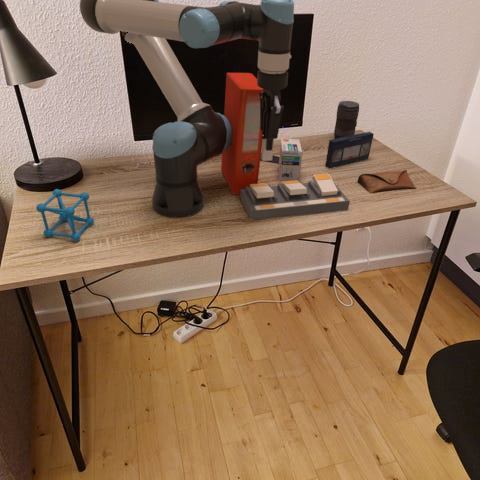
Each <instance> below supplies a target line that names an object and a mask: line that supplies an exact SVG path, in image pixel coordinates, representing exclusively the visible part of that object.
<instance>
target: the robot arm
mask: <svg viewBox="0 0 480 480" xmlns="http://www.w3.org/2000/svg"><path fill="white" fill-rule="evenodd" d="M79 11H80V15H81V17H82V19H83V21H84V24H86V25H87V26H88V27H89V28H90V29H91V30H94V31H95V32H99V33H103V34H108V35H114V34H119V32H120V31H121V32H122V34H123V35H122V34H121V35H122V37H123V36H124V37H123V39H124V40H125V41H127V42H126V43H128V42H129V43H128V44H131V43H132V44H131V45H134V47H135V48H136V50H137V51H138V53H139V55H140V57H141V59H142V60H143V62H144V63H145V66H146V67H147V69H148V70H149V72H150V73H151V75H152V77H153V79H154V80H155V81H156V83H157V86H158V87H159V89H160V90H161V92H162V94H163V95H164V97H165V99H166V100H167V102H168V103H169V106H170V107H171V109H172V111H173V112H174V113H175V115H176V117H177V121H174V122H168V123H167V122H166V123H163V124H161V125H160V126H159V127H157V128H156V129H155V130H154V132H153V134H152V153H153V160H154V169H155V170H154V171H155V180H156V182H155V185H154V191H153V194H152V196H151V197H152V198H151V205H152V208H153V211H154V212H155V213H157V214H158V215H161V216H163V217H166V218H173V219H175V218H176V219H177V218H179V219H181V218H186V217H190V216H193V215H196V214H197V213H199V212H201V210H203V208H204V205H205V203H204V202H205V201H204V200H205V198H204V194H203V191H202V189H201V186H200V184H199V181H198V166H199V165H200V166H201V165H202V164H203V163H206V162H207V161H209V160H211V159H212V158H215V157H218V156H220V155H222V152H224V151H225V150H226V149H227V148H228V147H229V146H230V144H231V138H232V128H231V125H230V123H229V121H228V119H227V118H226V117H225V116H224V114H221V113H220V112H215V111H214V110H213V107H212V106H211V104H208V103H205V102H203V101H202V98H201V97H200V95H199V93H198V92H197V90H196V89H195V87H194V86H193V85H194V84H192V82H191V80H190V78H189V76H188V75H187V73H186V71H185V70H184V68H183V67H182V64H181V63H180V62H179V60H178V58H177V56H176V55H175V52H174V51H173V49H172V47H171V46H170V44H169V42H168V41H167V40H171V41H172V40H173V41H178V42H184V43H185V44H186V45H187V46H188V47H189V48H192V49H205V48H210V47H211V46H215V45H219V44H223V43H227V42H231V41H235V40H238V39H245V40H252V41H256V42H257V41H258V51H257V53H258V54H257V68H258V70H257V76H256V78H257V85H258V86H259V87H260V88H263V92H260V93H259V96H260V130H262V135H263V136H262V149H261V158H260V160H261V161H262V162H267V161H273V155H274V154H273V152H274V141H275V140H276V139H278V137H279V130H280V124H281V120H282V114H283V112H284V110H285V109H284V105H280V103H282V102H281V101H282V95H281V91H282V90H284V89H286V88H287V87H288V84H289V83H288V81H289V72H288V69H290V59H292V55H291V45H292V37H293V36H292V35H293V26H294V22H295V18H294V15H295V14H294V13H295V12H294V11H295V3H294V0H261V2H260V4H253V3H252V4H251V3H246V2H240V1H237V0H233V1H230V0H227V1H222V2H220V3H219V5H217V6H208V7H205V6H194V5H187V4H177V3H169V2H161V1H159V0H80V1H79ZM121 32H120V33H121ZM127 32H128V33H127Z"/></svg>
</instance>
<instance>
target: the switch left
mask: <svg viewBox="0 0 480 480" xmlns="http://www.w3.org/2000/svg"><path fill="white" fill-rule="evenodd" d="M268 185H269V184H267V182H264V183H263V182H262V183H259V182H258V184H250V190H251V192H252V193H253V194H254V195H255V197H256V198H267V197H274V191H273V190H272V189H271V188H270V187H269V186H268Z"/></svg>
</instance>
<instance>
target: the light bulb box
mask: <svg viewBox="0 0 480 480" xmlns="http://www.w3.org/2000/svg"><path fill="white" fill-rule="evenodd" d="M279 145H280V146H279V156H278V157H279V159H278V172H279V181H280V182H283V181H293V180H297V181H299V182H301V181H300V179H301V171H302V160H303V152H304V151H303V148H302V145H301V139H297V138H295V139H293V138H280V144H279Z"/></svg>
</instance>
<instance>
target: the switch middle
mask: <svg viewBox="0 0 480 480" xmlns="http://www.w3.org/2000/svg"><path fill="white" fill-rule="evenodd" d="M300 182H301V181H297V180H293V181H281V183H280V184H281V186H282V187H283V189H284V190H285V191H286V192H287V193H289V194H290V195H297V194H307V188H306V187H305V186H303V185H302V184H301V183H302V182H301V183H300Z"/></svg>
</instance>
